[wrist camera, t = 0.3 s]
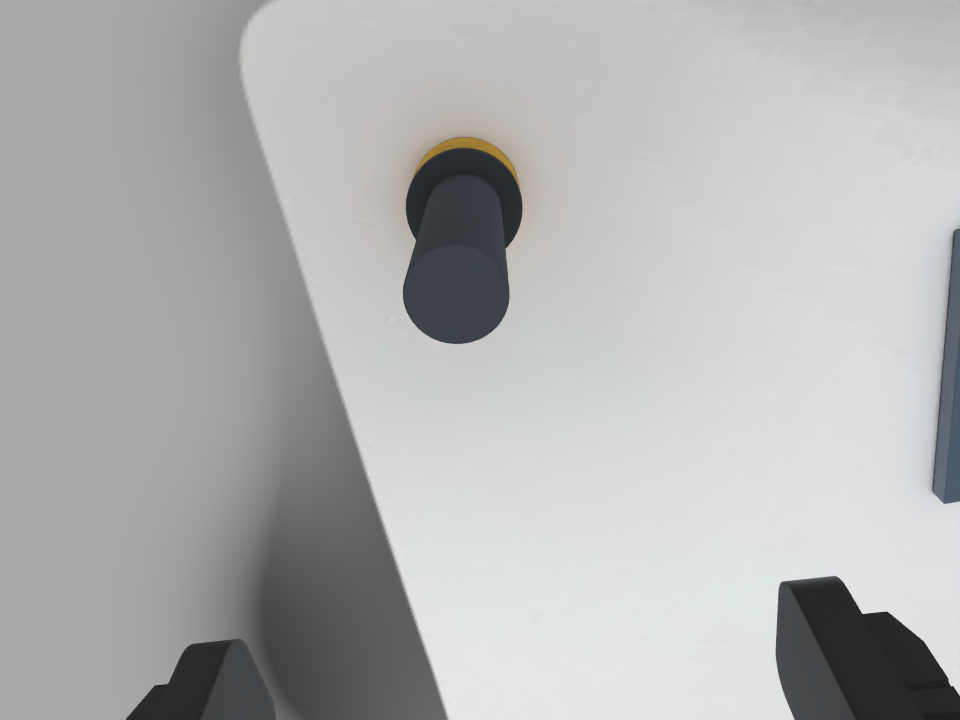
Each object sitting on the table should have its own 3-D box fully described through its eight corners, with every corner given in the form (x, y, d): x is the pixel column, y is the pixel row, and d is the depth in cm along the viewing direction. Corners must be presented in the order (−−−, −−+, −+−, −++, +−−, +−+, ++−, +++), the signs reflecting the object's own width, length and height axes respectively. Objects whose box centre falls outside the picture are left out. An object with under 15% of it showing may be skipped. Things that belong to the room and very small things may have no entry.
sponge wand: (428, 122, 28) (394, 191, 17) (533, 156, 28) (564, 243, 18) (401, 226, 30) (355, 346, 19) (499, 255, 30) (509, 389, 20)
